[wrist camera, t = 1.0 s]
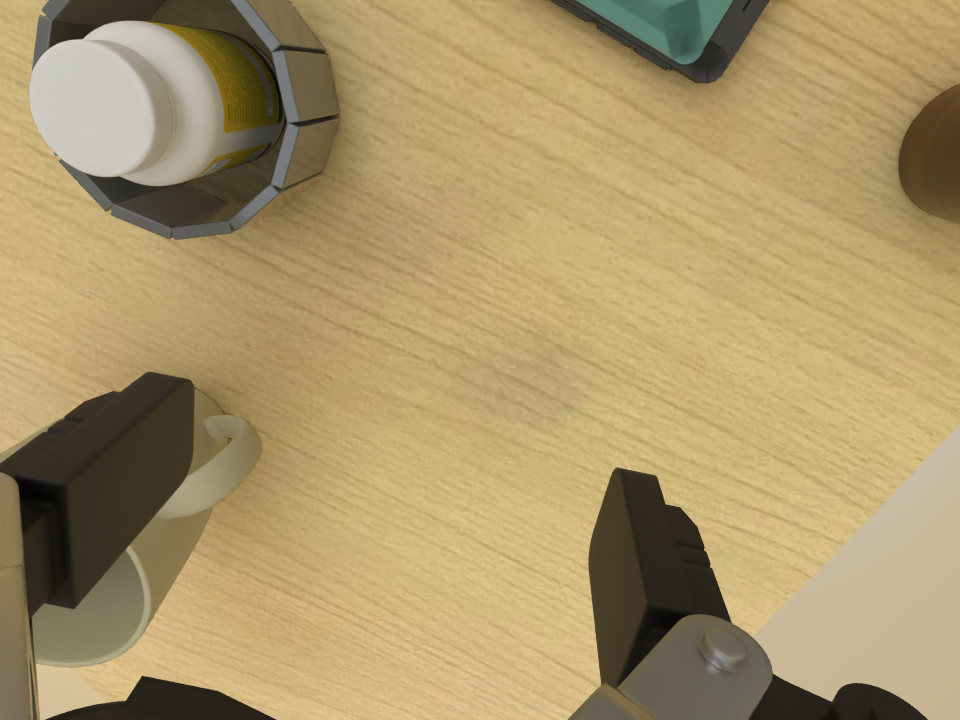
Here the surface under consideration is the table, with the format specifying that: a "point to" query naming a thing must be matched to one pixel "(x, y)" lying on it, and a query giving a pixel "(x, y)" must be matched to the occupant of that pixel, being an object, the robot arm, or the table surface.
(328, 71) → the grey ring
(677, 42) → the smartphone
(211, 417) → the mug
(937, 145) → the brown metal stand
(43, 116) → the supplement bottle
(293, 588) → the table surface
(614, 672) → the robot arm
